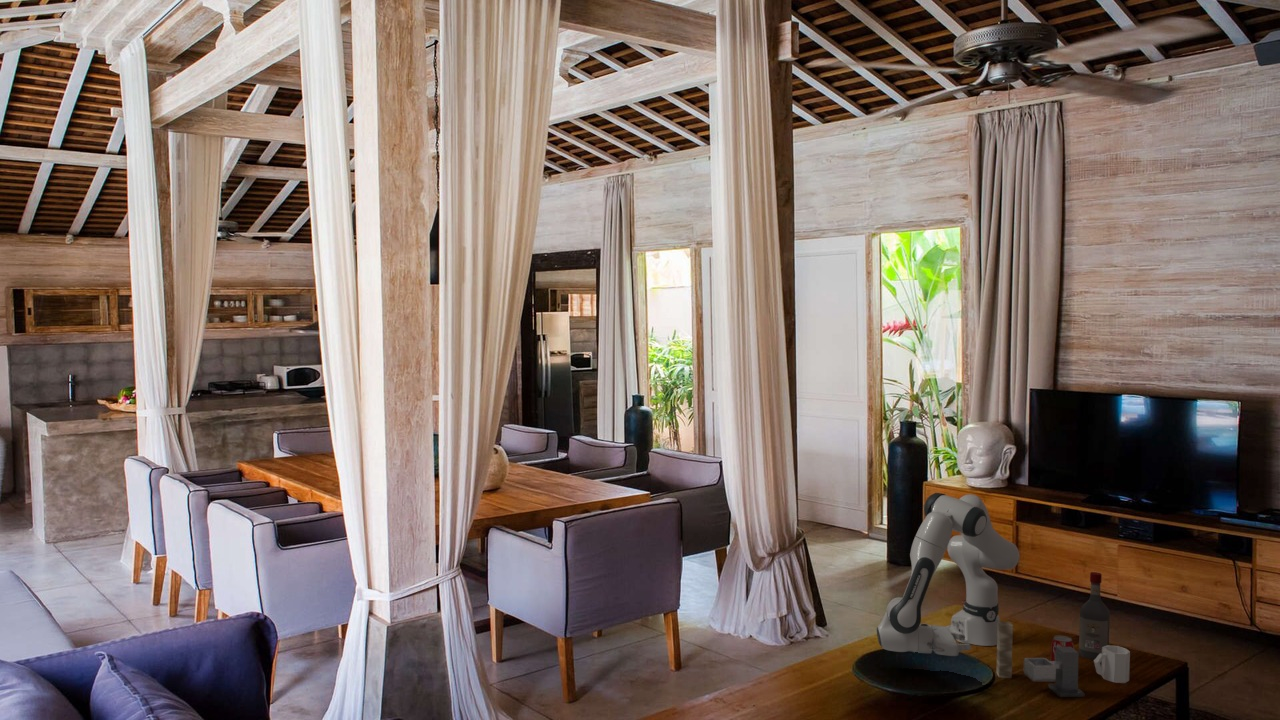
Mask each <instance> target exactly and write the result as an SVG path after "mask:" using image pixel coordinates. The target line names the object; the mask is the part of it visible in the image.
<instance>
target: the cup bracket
mask: <svg viewBox="0 0 1280 720" xmlns="http://www.w3.org/2000/svg"><path fill="white" fill-rule="evenodd" d="M1079 656H1080V654H1079V651H1077V650H1076V649H1075V648H1074V649H1073V648H1072V647H1056V661H1051V660H1049V659H1047V658H1046V657H1024V658H1023V674H1024V675H1025V676H1026V677H1027V678H1028V679H1030V680H1031V681H1032V682H1036V683H1037V682H1039V683H1040V682H1054V683H1048V688H1049V689H1050V690H1051V691H1052V692H1053V693H1055V694H1056V695H1057V696H1058V697H1060V698H1085V692H1084V691H1083V690H1081V689H1080V688H1079Z"/></svg>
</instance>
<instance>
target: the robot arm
mask: <svg viewBox="0 0 1280 720" xmlns="http://www.w3.org/2000/svg"><path fill="white" fill-rule="evenodd" d="M923 513H924V516H925V517H924V519H923V521H922V522H921V524H920V526H919V527H918V530H917V532H916V534H915V536H914V539H913V541H912V544H911V548H910V553H909V557H910V563H911V572H910V573H911V574H910V578H909V581H908V583H907V585H906V589H905V590H904V593H903V595H902V596H897V597H894V598H891V600H889V601H888V604H887V605H886V609H885V613H884V615H883V617H882V619H881V622H880V623H879V624H878V625H877V627H876V636H877V641H878V644H879V647H881V648H882V649H884V650H886V651H888V652H889V651H891V652H897V653H898V652H899V653H905V652H912V653H915V652H918V653H917V654H932V652H934V654H936V655H940V656H941V655H942V656H948V657H957V656H959V652H962V651H970V650H971V649H972V646H971V645H975V646H981V647H985V646H986V647H991V646H992V647H993V646H997V625H998V621H1000V622H1001V618H1000V616H999V611H1000V607H999V604H998V595H999V594H998V590H999V587H998V583H997V582H996V580H995V579H994V578H992V576H990V575H988V574H987V573H986V572H985V570H984V569H983V568H987V569H993V570H1013V569H1014V568H1015V567H1016V566H1017V565H1018V564H1019V561H1020V552H1019V548H1018V547H1017V545H1016V544H1015V543H1013V542H1011V541H1010V540H1008V539H1006V538H1005V537H1003V536H1002V535H1001V534H999V532H997V530H995V529H994V527H993V524H992V521H991V517H990V514H989V511H988V509H987V507H986V505H985V503H984V501H983V500H982V499H981V498H980V497H979V496H978V495H976V494H973V493H969V494H965V495H963V496H961V497H960V498H956V497H953V496H951V495H947V494H945V493H943V492H935V493H932V494H931V495H929V496H928V497H927V498H926V500H925V502H924V506H923ZM953 531H954V532H956V533H960V535H958V534H957V535H953V536H952V534H953ZM946 551H947V553H948V556H949V558H950V559H951V560H952V561H953V563H955V564H956V565H957V566H958V568H959V570H960V571H961V573H962V575H963V577H964V580H965V591H966V593H965V594H966V595H965V599H966V600H963V601H962V602H961V604H963V606H962V609H961V610H959V611H957V612H956V613H954V614H953V615H952V616H951V621H950V624H949V625H946V626H944V625H934V624H928V623H926V622H925V623H924V622H921V621H922V604H923V601H924V599H925V596H926V594H927V591H928V588H929V585H930V584H931V583H930V582H931V580H932V578H933V576H934V575H935V573H936V570H937V568H938V567H939V565H940V563H941V562H942V559H943V558H944V555H945V554H946ZM958 642H959V643H958ZM961 643H962V644H961Z"/></svg>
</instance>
